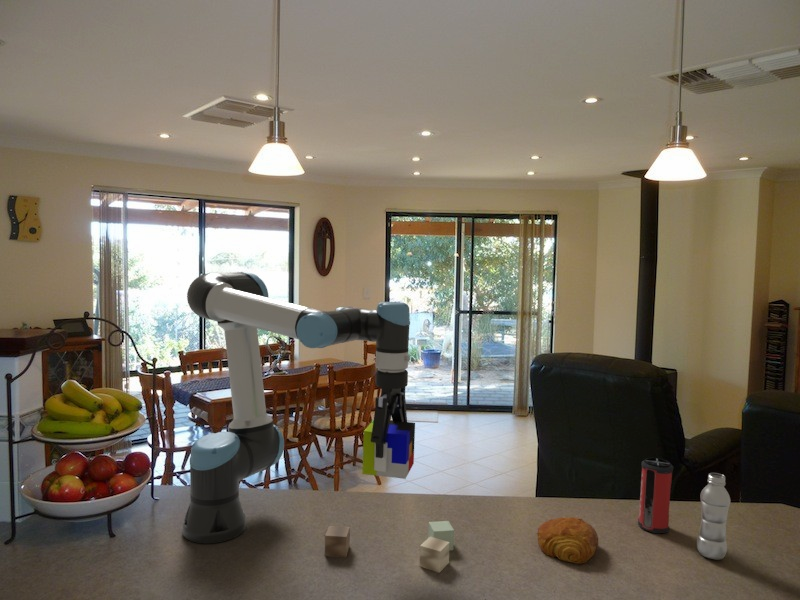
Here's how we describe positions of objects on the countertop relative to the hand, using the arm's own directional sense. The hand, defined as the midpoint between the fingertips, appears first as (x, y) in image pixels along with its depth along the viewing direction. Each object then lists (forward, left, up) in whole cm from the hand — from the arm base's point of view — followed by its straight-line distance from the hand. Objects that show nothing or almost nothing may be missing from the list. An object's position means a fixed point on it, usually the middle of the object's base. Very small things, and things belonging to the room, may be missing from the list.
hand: (389, 462), depth 137 cm
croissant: (+40, +19, -22) cm, 49 cm away
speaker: (+61, +39, -22) cm, 76 cm away
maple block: (+12, -1, -22) cm, 25 cm away
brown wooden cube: (-11, -4, -22) cm, 25 cm away
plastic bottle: (+73, +28, -22) cm, 81 cm away
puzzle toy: (0, 0, -2) cm, 2 cm away
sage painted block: (+11, +8, -22) cm, 26 cm away
